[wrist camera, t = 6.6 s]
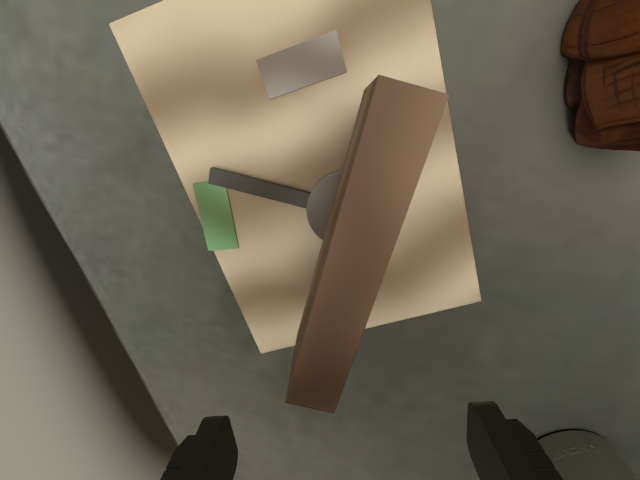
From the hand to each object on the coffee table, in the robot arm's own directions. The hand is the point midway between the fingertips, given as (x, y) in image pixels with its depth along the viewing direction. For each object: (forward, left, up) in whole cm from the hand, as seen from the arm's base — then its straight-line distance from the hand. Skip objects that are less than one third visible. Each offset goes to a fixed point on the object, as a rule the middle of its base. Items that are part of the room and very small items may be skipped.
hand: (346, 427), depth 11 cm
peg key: (+6, +1, -11) cm, 12 cm away
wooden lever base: (+7, -1, -16) cm, 18 cm away
